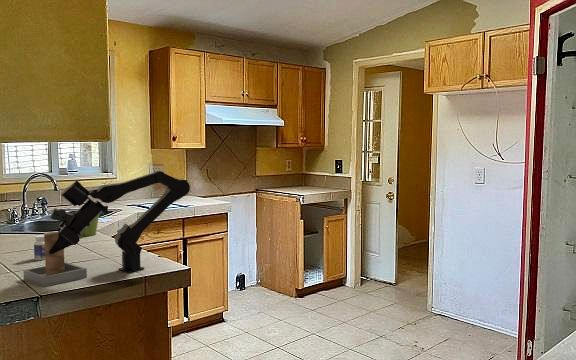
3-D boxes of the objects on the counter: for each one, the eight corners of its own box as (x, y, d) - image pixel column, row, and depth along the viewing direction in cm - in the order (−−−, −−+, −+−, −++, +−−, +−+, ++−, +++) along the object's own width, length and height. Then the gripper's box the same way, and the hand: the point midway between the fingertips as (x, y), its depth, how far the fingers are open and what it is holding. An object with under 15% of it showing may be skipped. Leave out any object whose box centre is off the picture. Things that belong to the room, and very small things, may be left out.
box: (86, 277, 162) (86, 268, 161) (43, 286, 151) (42, 277, 151) (66, 270, 171) (66, 262, 170) (23, 279, 160) (23, 270, 160)
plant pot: (86, 238, 232) (85, 214, 231) (69, 235, 238) (69, 212, 237) (106, 234, 242) (106, 211, 242) (90, 232, 248) (89, 209, 248)
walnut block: (64, 269, 164) (63, 231, 163) (64, 273, 159) (63, 233, 158) (46, 271, 162) (44, 232, 161) (45, 275, 157) (44, 235, 156)
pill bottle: (43, 260, 186) (42, 237, 186) (31, 260, 187) (30, 237, 187) (52, 257, 191) (51, 234, 191) (40, 257, 192) (39, 234, 192)
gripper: (65, 196, 169) (30, 231, 165) (66, 202, 152) (27, 240, 148) (90, 217, 173) (57, 252, 169) (94, 225, 156) (57, 263, 152)
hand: (49, 251), depth 160 cm, fingers closed on walnut block, 5 cm apart
